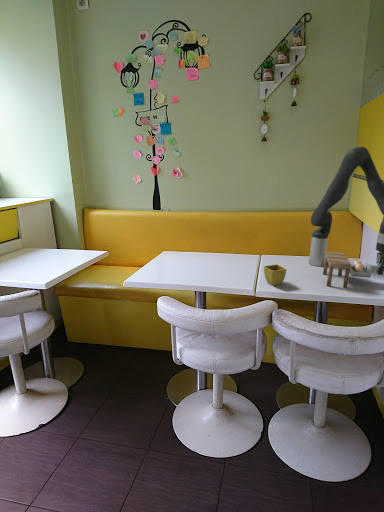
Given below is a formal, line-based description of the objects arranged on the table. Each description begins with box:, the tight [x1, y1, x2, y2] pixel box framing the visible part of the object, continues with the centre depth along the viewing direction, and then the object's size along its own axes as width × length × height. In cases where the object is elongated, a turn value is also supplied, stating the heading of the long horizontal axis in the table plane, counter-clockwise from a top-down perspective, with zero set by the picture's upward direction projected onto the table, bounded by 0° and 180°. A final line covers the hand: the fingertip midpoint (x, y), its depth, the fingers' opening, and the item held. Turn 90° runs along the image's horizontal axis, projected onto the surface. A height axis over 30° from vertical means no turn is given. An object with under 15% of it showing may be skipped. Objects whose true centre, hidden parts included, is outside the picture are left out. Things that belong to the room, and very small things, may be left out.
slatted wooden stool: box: [322, 251, 352, 289], centre depth 185 cm, size 20×10×13 cm, turn 166°
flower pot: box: [263, 264, 288, 286], centre depth 181 cm, size 9×9×9 cm
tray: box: [349, 260, 384, 279], centre depth 181 cm, size 10×17×6 cm, turn 75°
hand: (379, 273), depth 180 cm, fingers closed on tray, 2 cm apart
